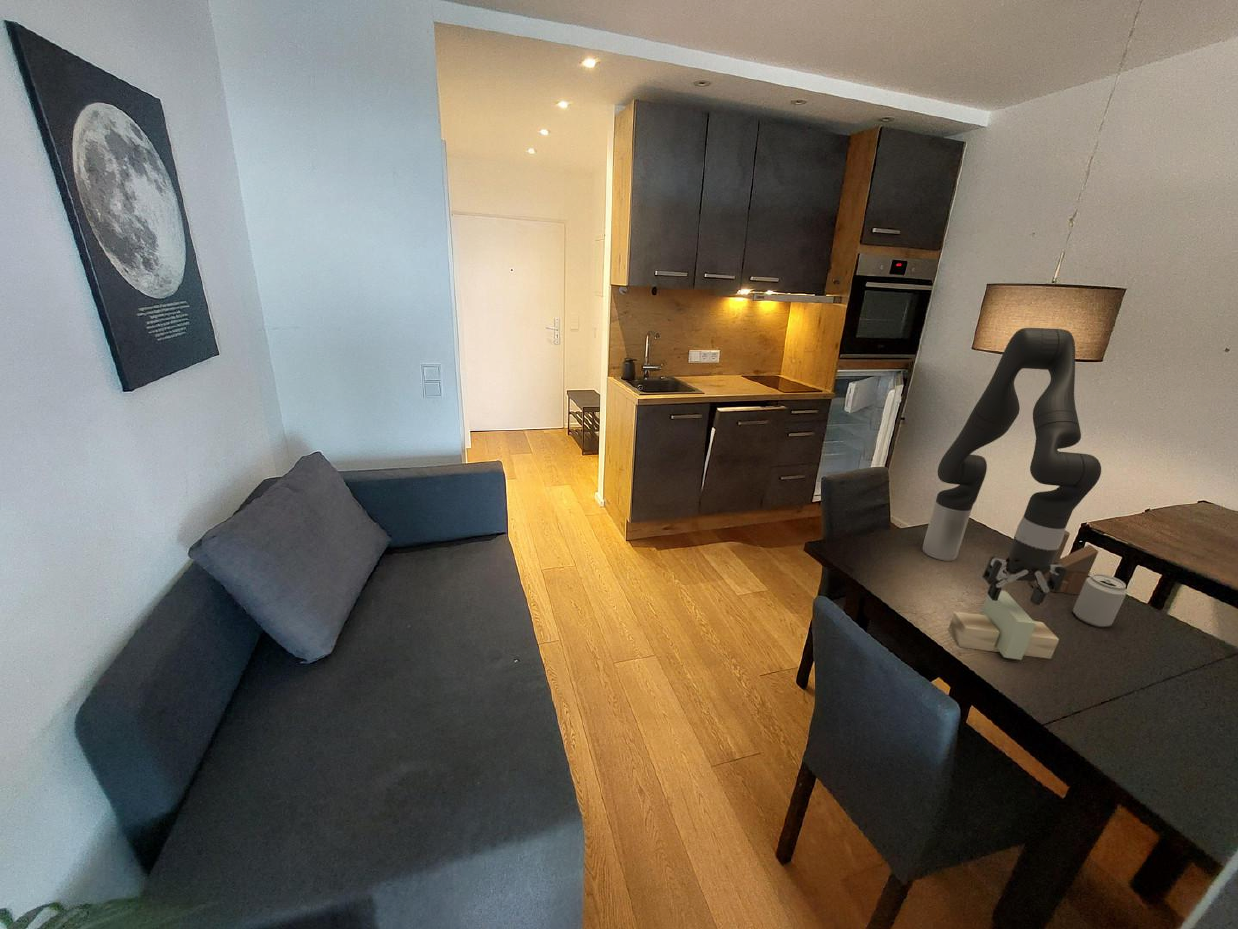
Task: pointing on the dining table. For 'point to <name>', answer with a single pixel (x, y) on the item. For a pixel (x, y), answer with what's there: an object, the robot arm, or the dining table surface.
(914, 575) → the dining table surface
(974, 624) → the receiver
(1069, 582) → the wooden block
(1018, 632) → the sage green tall block
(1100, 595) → the can
